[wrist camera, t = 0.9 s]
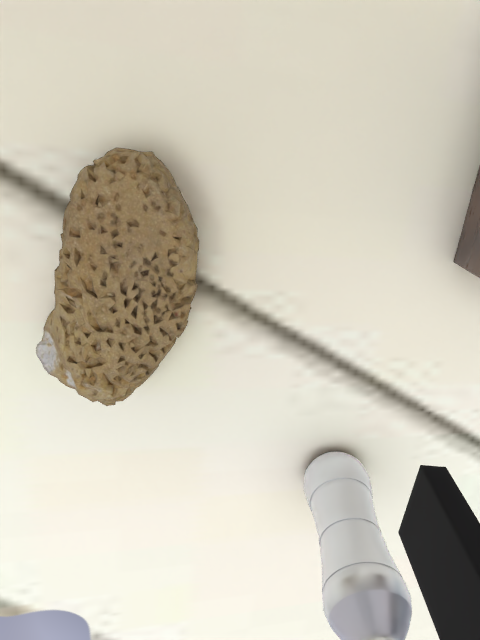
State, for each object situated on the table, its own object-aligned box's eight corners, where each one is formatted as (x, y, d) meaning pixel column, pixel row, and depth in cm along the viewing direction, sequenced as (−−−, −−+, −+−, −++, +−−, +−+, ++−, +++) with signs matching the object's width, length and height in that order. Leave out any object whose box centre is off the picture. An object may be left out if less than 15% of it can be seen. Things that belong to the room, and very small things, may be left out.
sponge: (149, 380, 44) (265, 229, 34) (106, 431, 37) (236, 261, 27) (43, 299, 43) (129, 119, 33) (-20, 335, 36) (65, 124, 26)
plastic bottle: (370, 480, 47) (452, 702, 29) (311, 498, 48) (352, 723, 30) (354, 434, 45) (431, 644, 26) (291, 454, 46) (324, 669, 27)
